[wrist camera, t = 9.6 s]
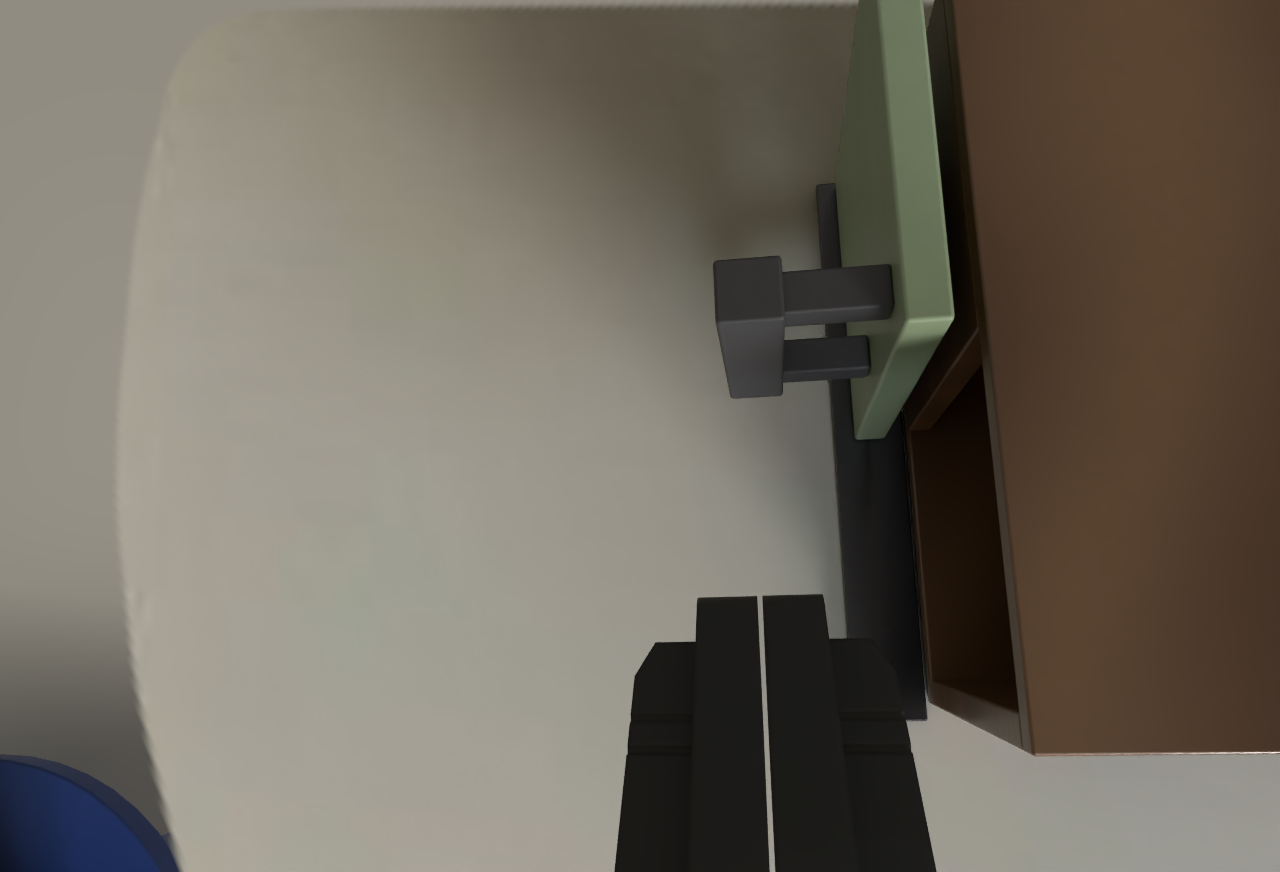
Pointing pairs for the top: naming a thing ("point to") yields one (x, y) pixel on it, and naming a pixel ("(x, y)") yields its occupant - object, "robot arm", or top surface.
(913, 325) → the sliding door
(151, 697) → the top surface
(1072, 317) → the cabinet
